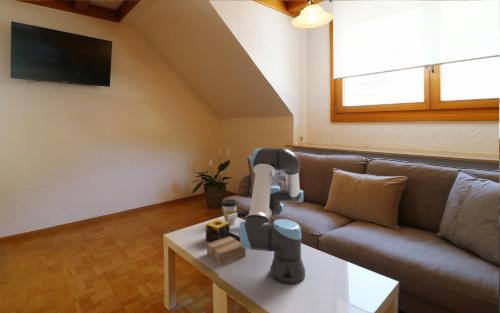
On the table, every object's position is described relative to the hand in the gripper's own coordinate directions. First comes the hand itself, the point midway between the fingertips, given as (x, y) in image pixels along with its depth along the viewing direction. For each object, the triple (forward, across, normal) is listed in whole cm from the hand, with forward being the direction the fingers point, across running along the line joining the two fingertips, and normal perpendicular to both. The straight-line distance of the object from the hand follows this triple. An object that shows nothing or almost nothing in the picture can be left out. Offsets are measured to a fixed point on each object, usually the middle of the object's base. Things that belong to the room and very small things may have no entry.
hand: (233, 221), depth 158 cm
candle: (+11, 0, -9) cm, 14 cm away
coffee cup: (-7, +17, -9) cm, 20 cm away
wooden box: (+16, -18, -9) cm, 26 cm away
